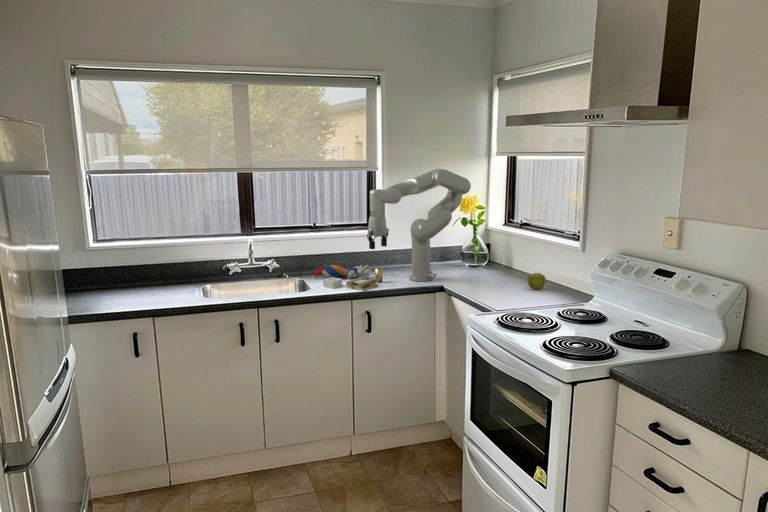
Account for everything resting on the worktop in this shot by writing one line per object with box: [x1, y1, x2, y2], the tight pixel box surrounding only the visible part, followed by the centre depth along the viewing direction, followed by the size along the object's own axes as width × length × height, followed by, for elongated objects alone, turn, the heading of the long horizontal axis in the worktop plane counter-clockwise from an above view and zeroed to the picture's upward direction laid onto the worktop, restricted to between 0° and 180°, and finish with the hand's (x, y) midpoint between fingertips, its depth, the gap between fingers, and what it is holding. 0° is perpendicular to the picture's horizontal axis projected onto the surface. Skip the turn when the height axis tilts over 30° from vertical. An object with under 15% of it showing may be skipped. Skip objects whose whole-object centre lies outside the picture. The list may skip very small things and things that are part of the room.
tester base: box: [345, 277, 379, 291], centre depth 281 cm, size 10×12×3 cm
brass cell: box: [374, 266, 383, 284], centre depth 290 cm, size 4×4×8 cm
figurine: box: [314, 264, 372, 280], centre depth 301 cm, size 27×9×30 cm
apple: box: [527, 272, 548, 291], centre depth 270 cm, size 8×9×8 cm
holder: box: [322, 276, 343, 289], centre depth 283 cm, size 7×7×4 cm
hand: (378, 247), depth 288 cm, fingers open, 9 cm apart
